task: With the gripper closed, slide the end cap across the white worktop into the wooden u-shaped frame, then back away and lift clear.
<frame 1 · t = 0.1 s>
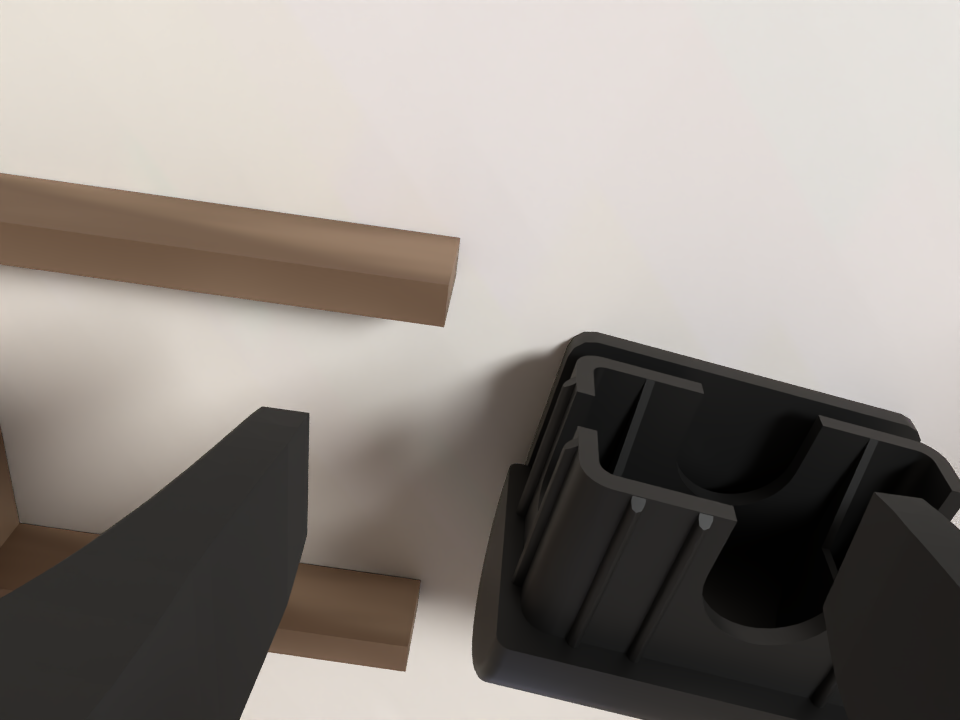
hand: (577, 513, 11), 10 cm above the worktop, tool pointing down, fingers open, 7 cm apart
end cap: (694, 474, 24), on the worktop
wooden u-shaped frame: (213, 413, 24), on the worktop
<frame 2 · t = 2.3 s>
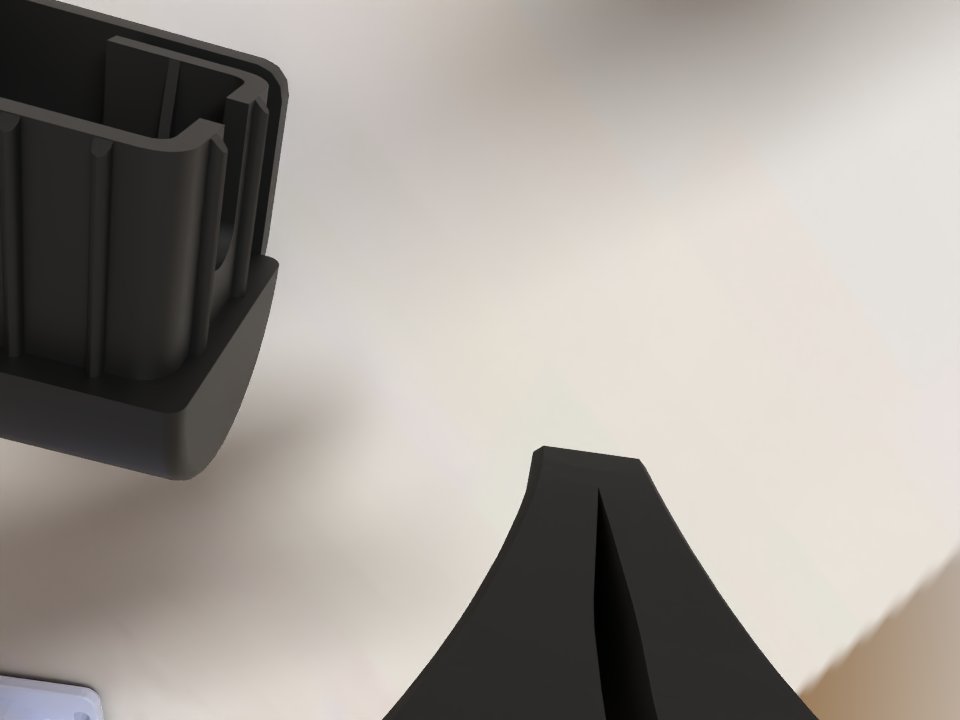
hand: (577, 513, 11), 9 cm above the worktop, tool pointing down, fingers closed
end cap: (74, 166, 20), on the worktop
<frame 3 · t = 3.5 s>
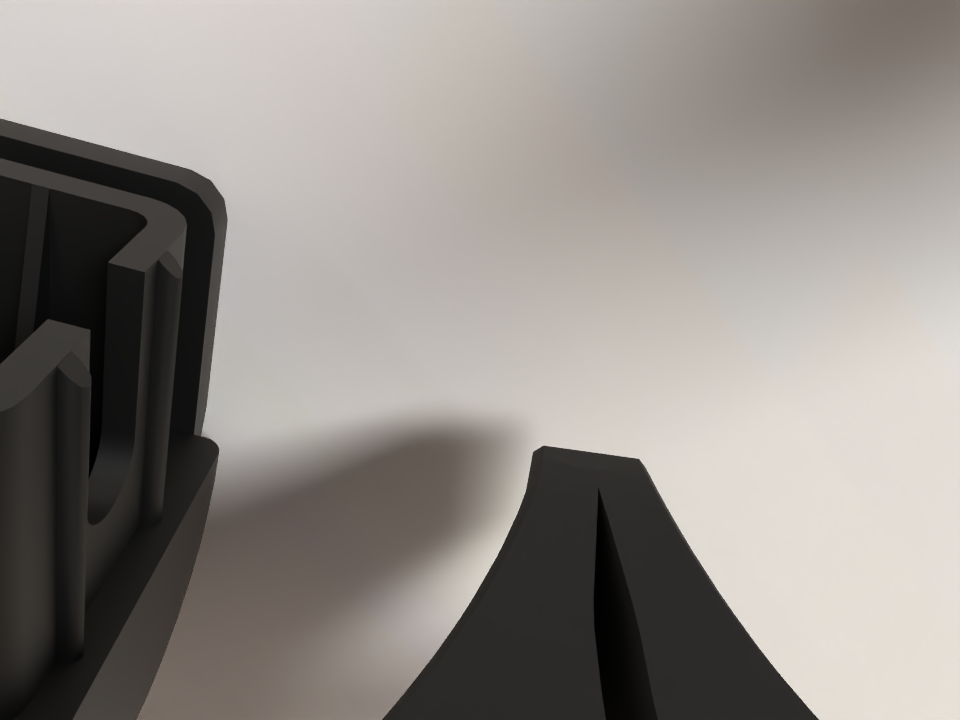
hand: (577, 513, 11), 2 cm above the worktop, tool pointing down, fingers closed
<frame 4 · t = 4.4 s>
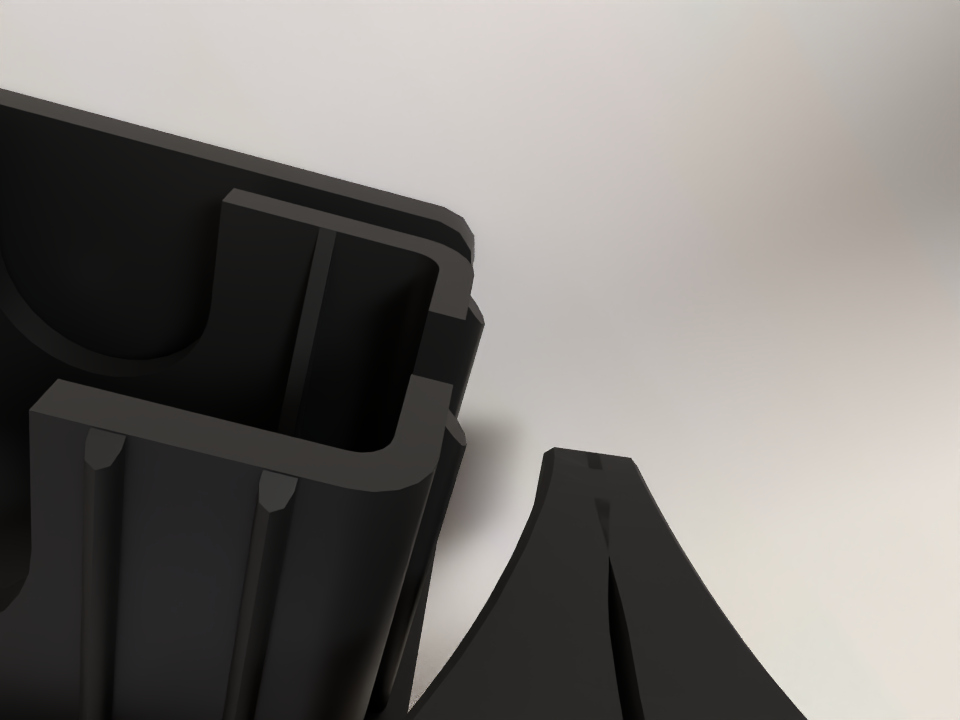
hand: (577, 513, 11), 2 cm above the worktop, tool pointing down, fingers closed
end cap: (148, 342, 14), on the worktop, touching gripper
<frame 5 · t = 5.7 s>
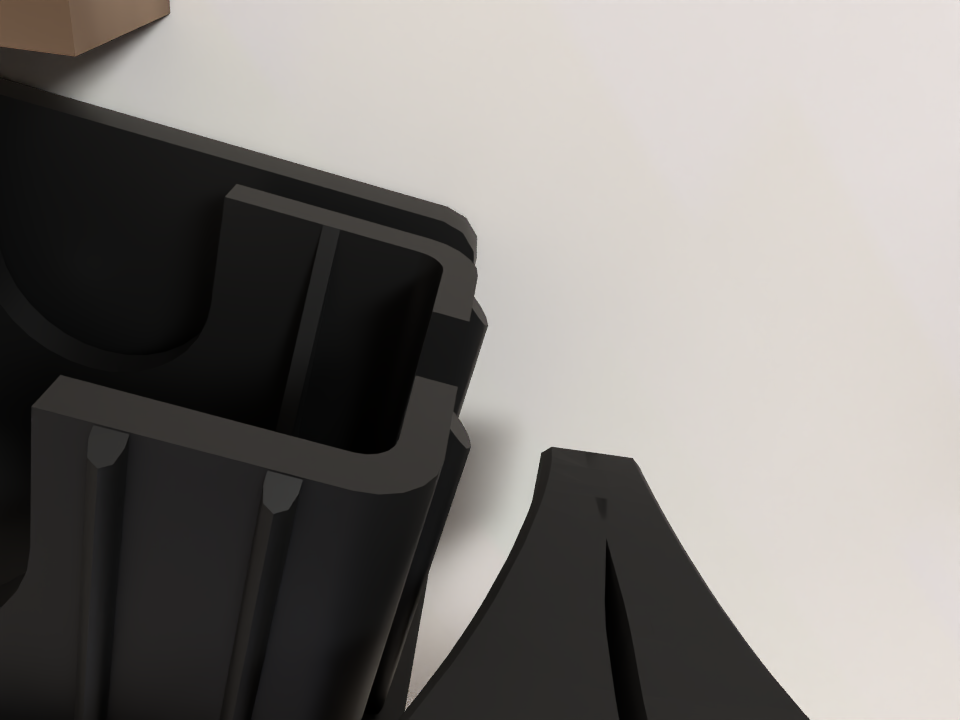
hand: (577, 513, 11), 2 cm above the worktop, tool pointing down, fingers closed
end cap: (145, 337, 14), on the worktop, touching gripper
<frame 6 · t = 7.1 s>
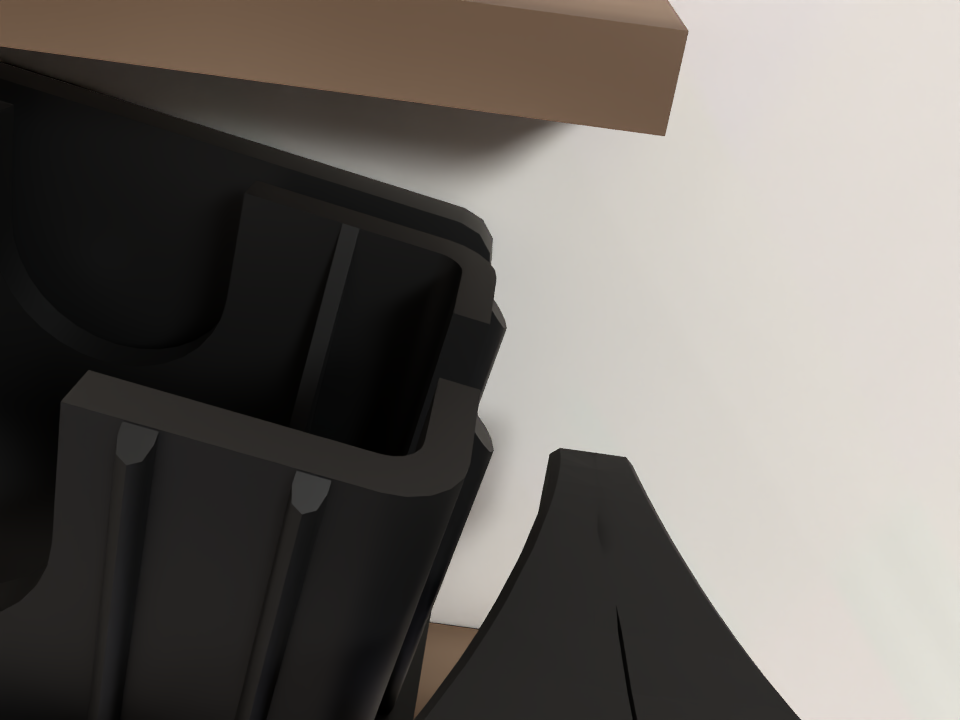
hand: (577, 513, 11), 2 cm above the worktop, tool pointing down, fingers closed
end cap: (155, 331, 14), on the worktop, touching gripper, wooden u-shaped frame
wooden u-shaped frame: (186, 356, 14), on the worktop
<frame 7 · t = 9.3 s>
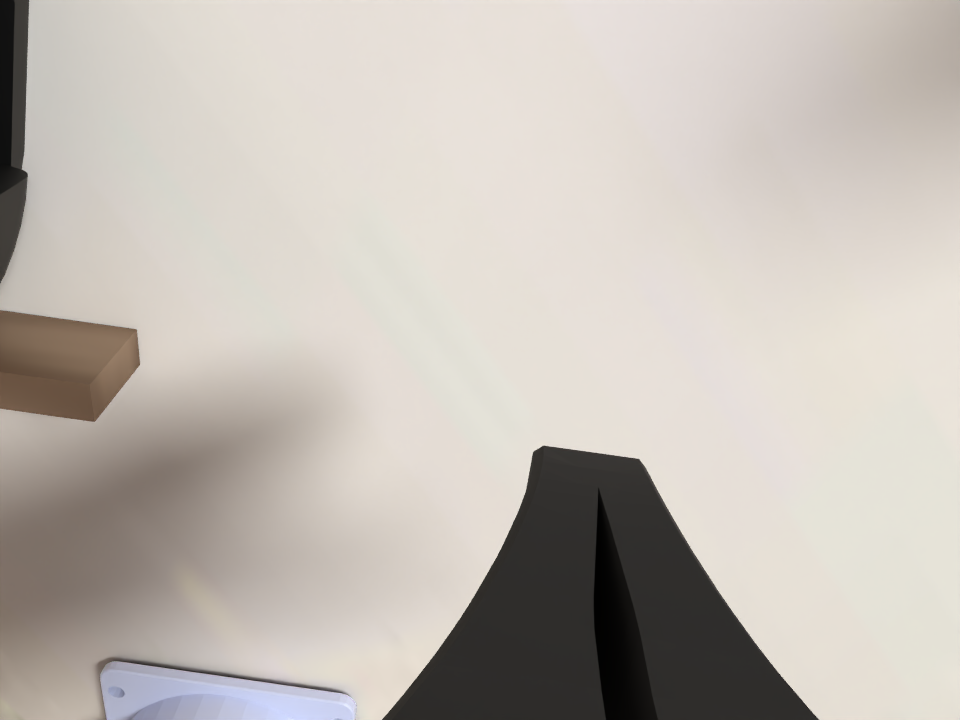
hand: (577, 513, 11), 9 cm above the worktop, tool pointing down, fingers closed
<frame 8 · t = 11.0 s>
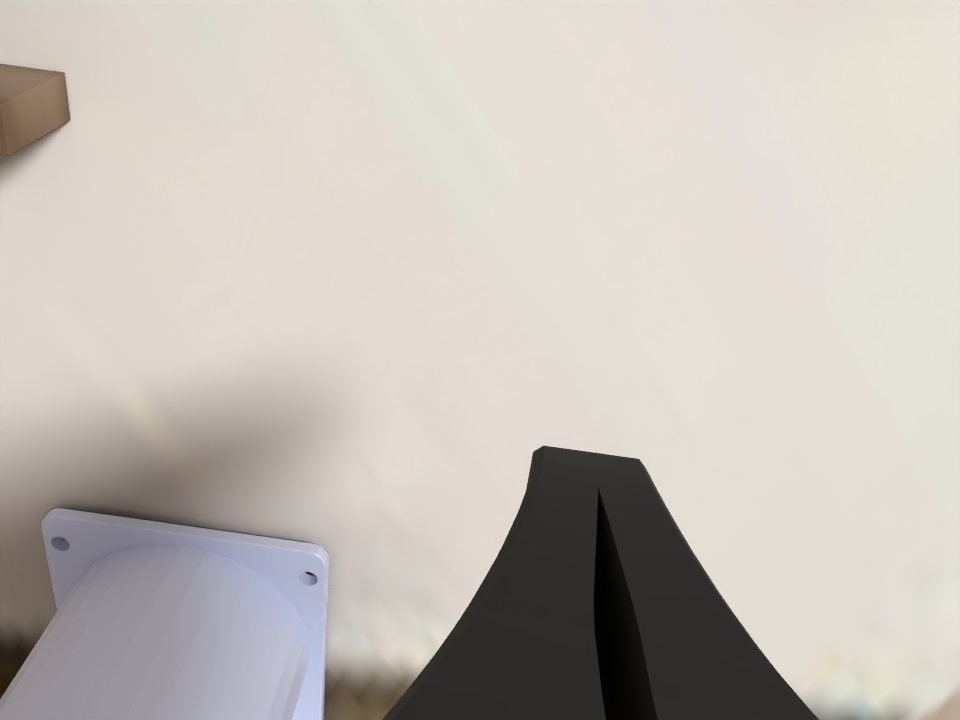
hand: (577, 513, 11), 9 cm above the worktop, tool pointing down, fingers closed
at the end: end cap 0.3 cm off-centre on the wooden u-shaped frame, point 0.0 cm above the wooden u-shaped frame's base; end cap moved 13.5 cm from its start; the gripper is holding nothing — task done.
